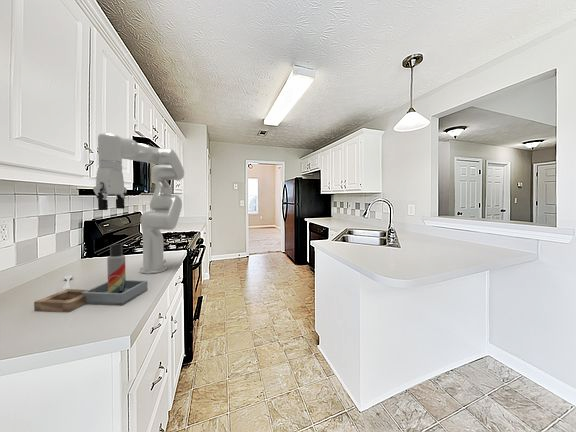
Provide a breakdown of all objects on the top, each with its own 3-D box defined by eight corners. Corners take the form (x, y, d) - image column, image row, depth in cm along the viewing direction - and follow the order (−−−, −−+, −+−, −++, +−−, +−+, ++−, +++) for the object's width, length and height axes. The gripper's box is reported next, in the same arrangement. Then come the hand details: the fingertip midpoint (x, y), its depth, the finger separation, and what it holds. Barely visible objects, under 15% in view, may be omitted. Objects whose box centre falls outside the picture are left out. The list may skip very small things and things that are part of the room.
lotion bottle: (116, 297, 93) (115, 245, 91) (104, 296, 94) (103, 244, 92) (129, 292, 98) (128, 242, 97) (117, 291, 99) (116, 242, 98)
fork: (62, 296, 101) (61, 290, 101) (65, 277, 117) (65, 272, 117) (71, 294, 103) (70, 288, 103) (73, 276, 119) (73, 271, 118)
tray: (112, 288, 104) (112, 279, 103) (147, 290, 103) (147, 280, 103) (81, 303, 89) (81, 292, 88) (122, 305, 88) (122, 294, 88)
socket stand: (67, 296, 94) (67, 289, 94) (97, 297, 94) (97, 290, 94) (34, 310, 82) (34, 301, 82) (69, 311, 82) (69, 303, 82)
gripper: (116, 168, 106) (117, 207, 108) (83, 163, 89) (85, 210, 90) (133, 168, 106) (134, 208, 108) (104, 163, 89) (105, 210, 90)
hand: (112, 209), depth 99 cm, fingers open, 9 cm apart
